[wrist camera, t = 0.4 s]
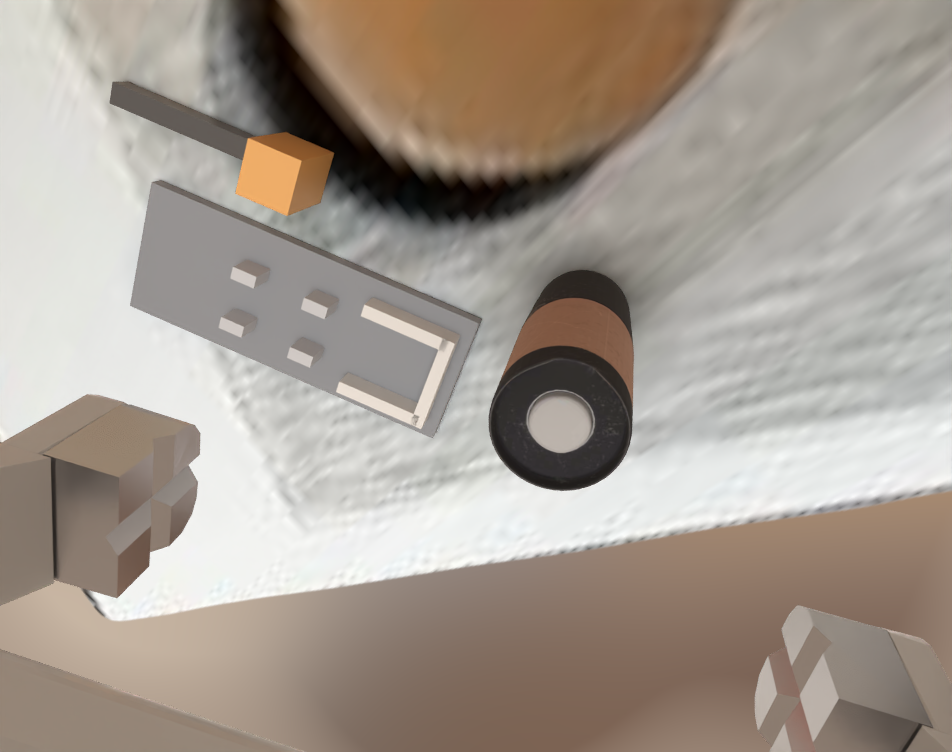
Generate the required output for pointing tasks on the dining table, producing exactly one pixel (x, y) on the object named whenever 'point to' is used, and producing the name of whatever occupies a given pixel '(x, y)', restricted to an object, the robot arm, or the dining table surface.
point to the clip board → (300, 309)
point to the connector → (242, 151)
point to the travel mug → (568, 386)
